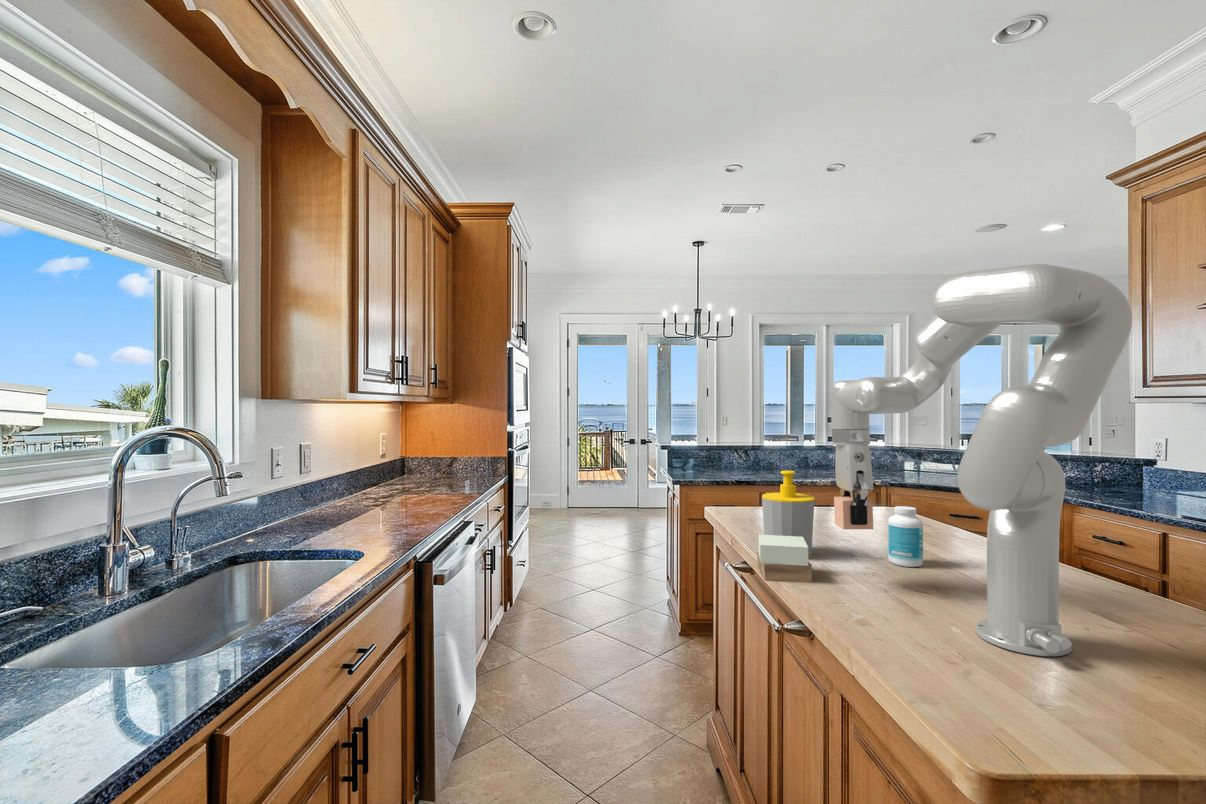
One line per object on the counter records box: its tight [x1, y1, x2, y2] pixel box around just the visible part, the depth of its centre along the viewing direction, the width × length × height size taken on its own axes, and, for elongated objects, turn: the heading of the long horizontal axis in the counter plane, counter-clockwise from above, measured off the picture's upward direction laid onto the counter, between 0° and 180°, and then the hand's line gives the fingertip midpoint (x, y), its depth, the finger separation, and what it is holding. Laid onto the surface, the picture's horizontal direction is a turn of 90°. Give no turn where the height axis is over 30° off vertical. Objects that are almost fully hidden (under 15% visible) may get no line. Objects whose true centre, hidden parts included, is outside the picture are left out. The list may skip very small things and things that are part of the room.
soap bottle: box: [761, 470, 815, 559], centre depth 146 cm, size 13×13×21 cm
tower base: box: [756, 551, 813, 583], centre depth 129 cm, size 10×10×4 cm
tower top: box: [758, 534, 809, 566], centre depth 129 cm, size 10×10×4 cm
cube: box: [833, 496, 874, 530], centre depth 122 cm, size 6×6×6 cm
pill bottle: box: [887, 505, 924, 568], centre depth 137 cm, size 8×7×14 cm
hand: (853, 520), depth 122 cm, fingers closed on cube, 6 cm apart
